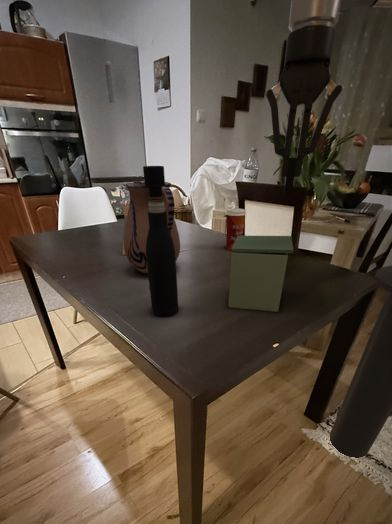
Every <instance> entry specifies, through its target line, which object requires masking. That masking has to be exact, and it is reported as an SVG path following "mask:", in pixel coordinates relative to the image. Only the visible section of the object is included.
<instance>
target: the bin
mask: <svg viewBox="0 0 392 524" xmlns="http://www.w3.org/2000/svg"><path fill="white" fill-rule="evenodd" d="M230 257H231V258H230V270H229V271H230V272H229V274H230V275H229V288H228V290H229V291H228V306H227V307H228V308H234V309H241V310H242V309H245V310H253V311H265V312H276V313H279V309H280V303H281V299H282V292H283V286H284V281H285V277H286V276H285V275H286V270H287V264H288V259H289V253H269V254H261V253H251V252H232V251H231V255H230Z"/></svg>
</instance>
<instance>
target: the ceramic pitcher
mask: <svg viewBox="0 0 392 524" xmlns="http://www.w3.org/2000/svg"><path fill="white" fill-rule="evenodd" d="M124 185H125V187H126V189H127V191H128V193H129V204H128V205H129V209H128V215H127V221H126V226H125V234H124V233H123V235H124V250H125V253H126V255H125V257H126V258H127V260H128V262H129V263H130V264H131V266H133V267H134V268H135V269H136V270H137V271H139V272H140V273H143V274H148V268H147V260H146V240H147V235H148V230H149V219H148V212H149V211H150V210H149V206H148V204H149V201H164V204H165V205H164V207H165V211H166V212H167V226H168V229H169V231H170V234H171V237H172V240H173V244H174V248H175V256H176V261H177V260H178V258H179V256H180V252H181V240H180V234H179V230H178V226H177V223H176V220H175V206H176V205H175V198H174V195H173V191H172V190H171V188H170V187H171V186H172V183H171V182H168V181H165V186H164V187H162V196H163V198H162V199H158V200H152V199H150V198H149V187H145V182H143V181H140V180H139V181H133V182H126V183H125V184H124Z"/></svg>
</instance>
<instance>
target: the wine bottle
mask: <svg viewBox="0 0 392 524" xmlns="http://www.w3.org/2000/svg"><path fill="white" fill-rule="evenodd" d="M142 172H143V181H144V182H143V183H145V187H149V198H150V199H152V200H158V199H162V198H163V196H162V187H164V186H165V182H166V179H165V177H166V176H165V166H164V165H144V166H142ZM164 205H165V204H164V201H149V204H148V206H149V210H150V211H149V212H148V219H149V230H148V235H147V240H146V260H147V268H148V273H147V277H148V286H149V295H150V303H151V304H150V305H151V312H152V314H153V315H155V316H156V317H161V318H167V317H173V316H174V315H176V314H177V313H178V312H179V297H178V277H177V260H176V256H175V248H174V244H173V240H172V237H171V234H170V231H169V229H168V226H167V212H166V211H165V207H164Z"/></svg>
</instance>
